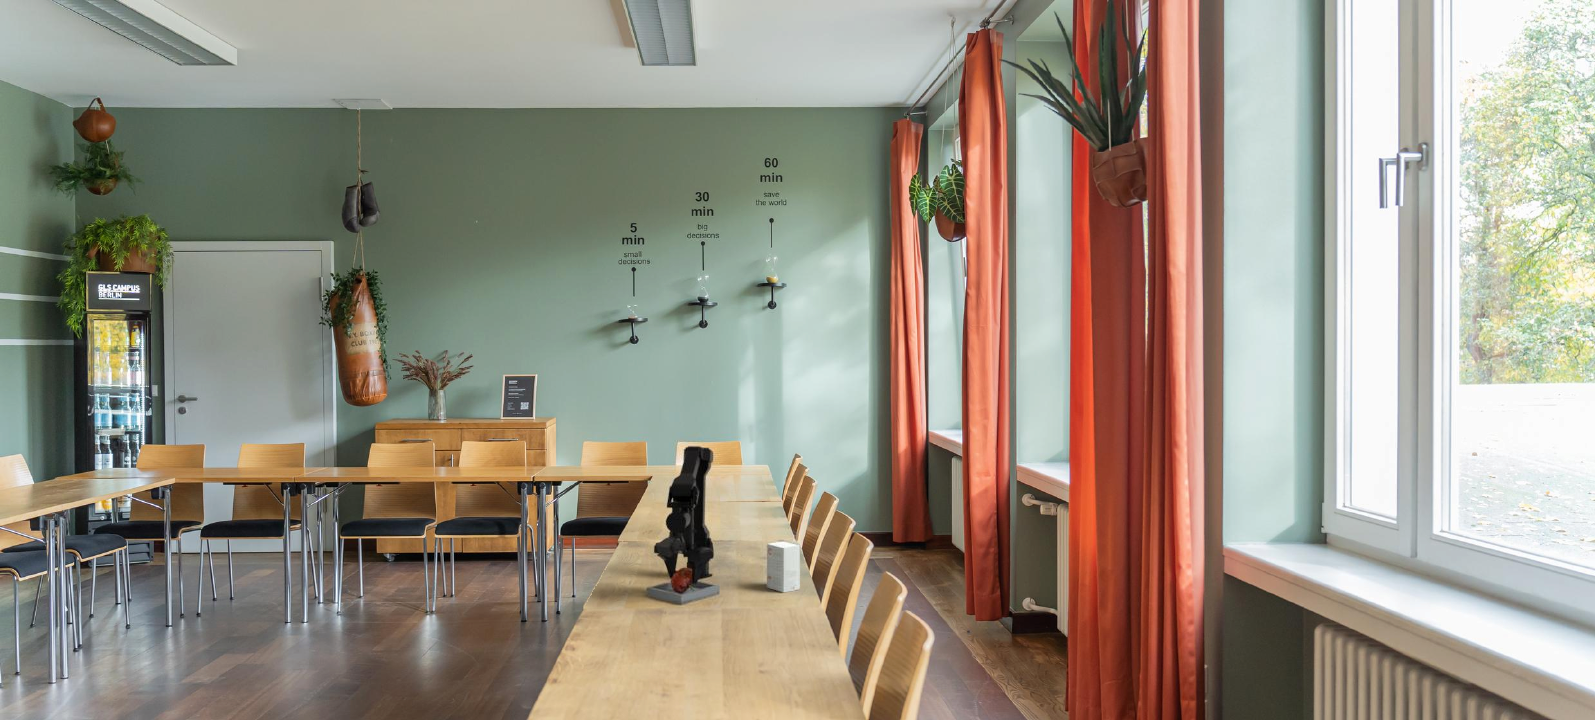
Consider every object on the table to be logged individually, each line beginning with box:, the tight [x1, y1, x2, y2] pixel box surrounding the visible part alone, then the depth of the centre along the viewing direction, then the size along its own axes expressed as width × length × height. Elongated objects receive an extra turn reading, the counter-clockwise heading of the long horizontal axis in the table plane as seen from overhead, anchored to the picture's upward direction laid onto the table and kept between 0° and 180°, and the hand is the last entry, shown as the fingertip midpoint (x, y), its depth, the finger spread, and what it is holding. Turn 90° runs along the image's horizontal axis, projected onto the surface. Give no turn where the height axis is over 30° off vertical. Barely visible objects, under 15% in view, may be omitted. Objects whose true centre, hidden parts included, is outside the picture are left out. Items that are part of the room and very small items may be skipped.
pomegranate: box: [670, 566, 694, 594], centre depth 267 cm, size 7×7×10 cm
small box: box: [766, 541, 801, 593], centre depth 275 cm, size 8×6×13 cm
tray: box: [646, 580, 720, 605], centre depth 267 cm, size 15×14×2 cm
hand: (683, 581), depth 267 cm, fingers open, 9 cm apart
